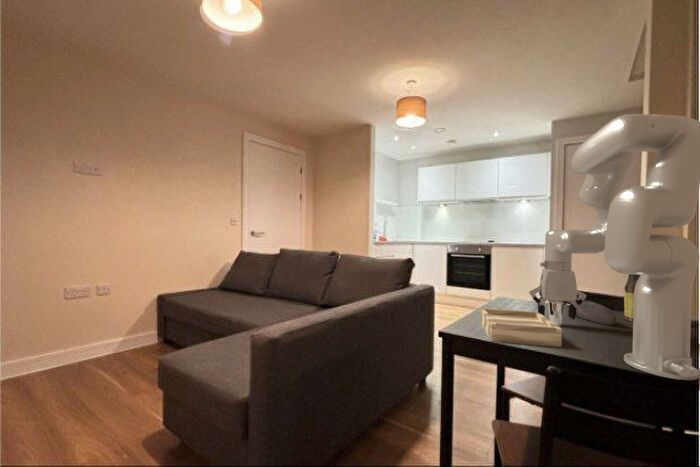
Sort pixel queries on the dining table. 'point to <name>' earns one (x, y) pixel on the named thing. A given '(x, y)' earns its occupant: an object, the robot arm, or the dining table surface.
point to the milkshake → (555, 311)
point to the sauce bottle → (630, 296)
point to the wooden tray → (520, 327)
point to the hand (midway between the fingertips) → (556, 317)
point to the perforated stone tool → (595, 313)
